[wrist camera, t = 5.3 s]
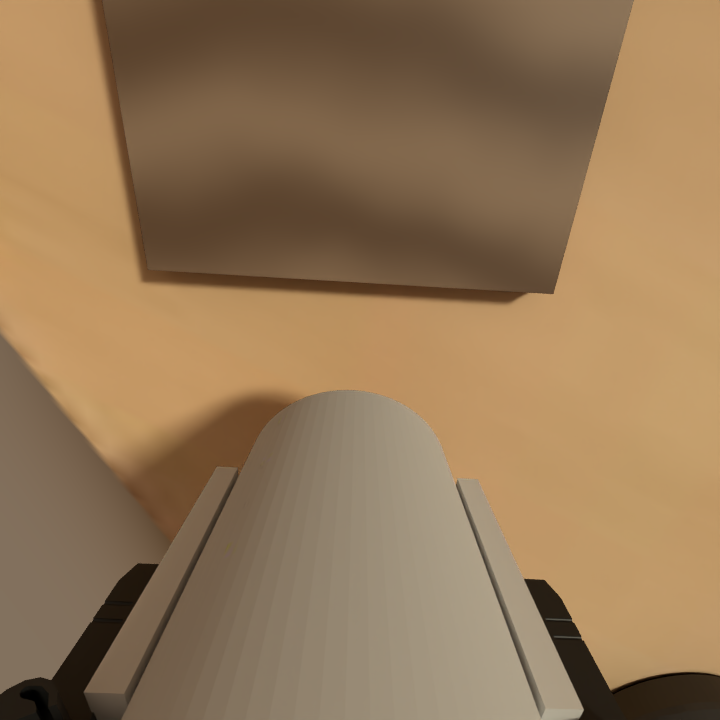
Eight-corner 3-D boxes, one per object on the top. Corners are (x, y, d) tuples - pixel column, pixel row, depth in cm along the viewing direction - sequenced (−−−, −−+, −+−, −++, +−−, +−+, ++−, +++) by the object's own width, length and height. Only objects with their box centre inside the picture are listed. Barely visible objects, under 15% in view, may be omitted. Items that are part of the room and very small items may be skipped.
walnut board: (537, 287, 17) (553, 294, 16) (165, 265, 16) (147, 269, 15) (666, -222, 11) (711, -286, 9) (83, -282, 10) (41, -360, 9)
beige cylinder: (222, 510, 15) (-179, 1346, 4) (296, 354, 12) (-310, 1590, 1) (387, 571, 16) (444, 1319, 5) (485, 441, 14) (1036, 1401, 3)
